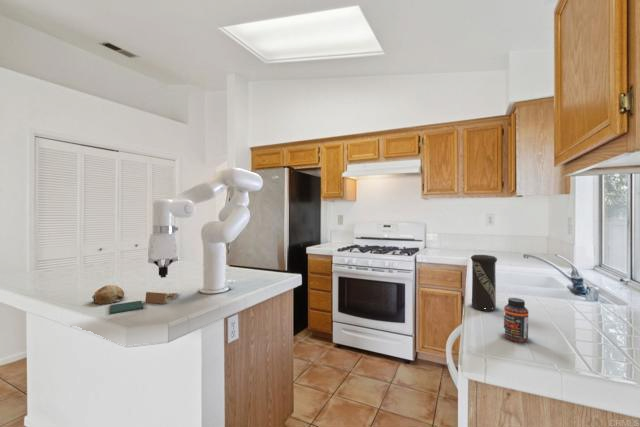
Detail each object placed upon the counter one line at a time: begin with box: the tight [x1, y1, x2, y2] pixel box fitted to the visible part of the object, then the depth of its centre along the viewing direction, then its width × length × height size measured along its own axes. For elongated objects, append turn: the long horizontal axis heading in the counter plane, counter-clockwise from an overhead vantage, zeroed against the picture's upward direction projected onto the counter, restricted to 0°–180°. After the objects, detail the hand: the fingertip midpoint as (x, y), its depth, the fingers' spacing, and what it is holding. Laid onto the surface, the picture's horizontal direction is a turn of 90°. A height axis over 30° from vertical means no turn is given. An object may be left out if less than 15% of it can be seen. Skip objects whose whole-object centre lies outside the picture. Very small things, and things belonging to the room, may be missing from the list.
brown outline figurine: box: [144, 291, 178, 305], centre depth 126 cm, size 9×4×12 cm
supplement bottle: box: [503, 297, 529, 343], centre depth 87 cm, size 6×6×11 cm
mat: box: [109, 300, 144, 315], centre depth 114 cm, size 10×10×1 cm
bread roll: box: [91, 284, 125, 305], centre depth 122 cm, size 10×10×8 cm
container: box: [470, 254, 498, 312], centre depth 115 cm, size 9×9×20 cm
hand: (163, 276), depth 120 cm, fingers closed
